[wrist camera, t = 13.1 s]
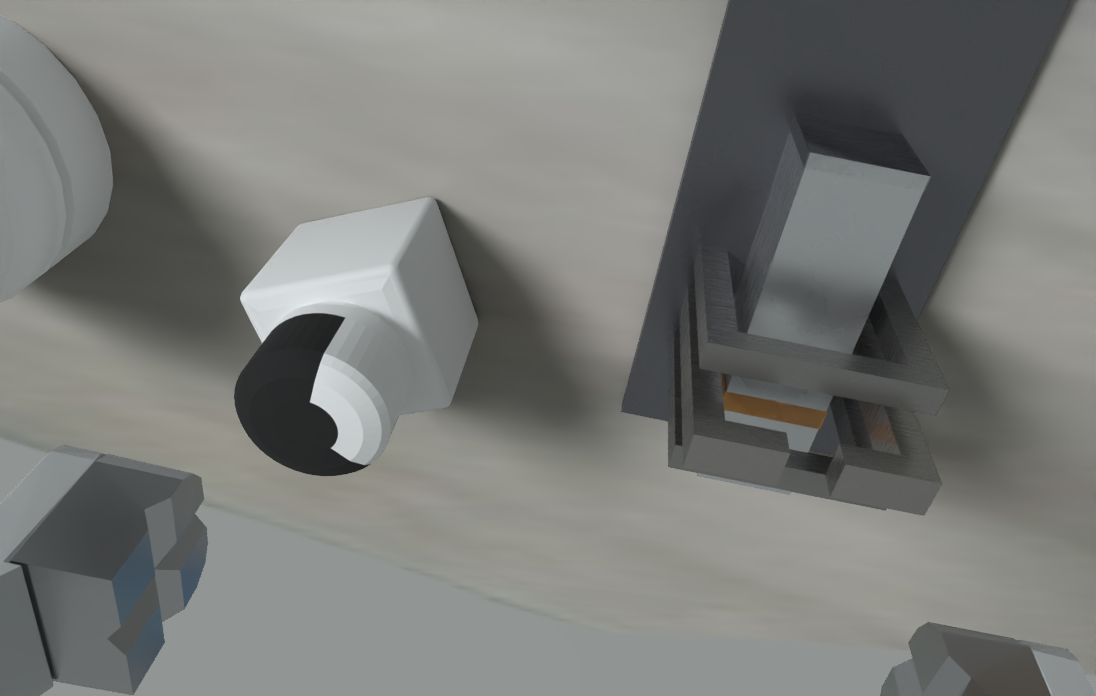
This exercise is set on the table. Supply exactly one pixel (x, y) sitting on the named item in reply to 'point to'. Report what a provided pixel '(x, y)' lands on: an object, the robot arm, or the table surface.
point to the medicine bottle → (353, 336)
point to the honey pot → (45, 161)
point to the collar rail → (738, 202)
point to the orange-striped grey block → (820, 260)
